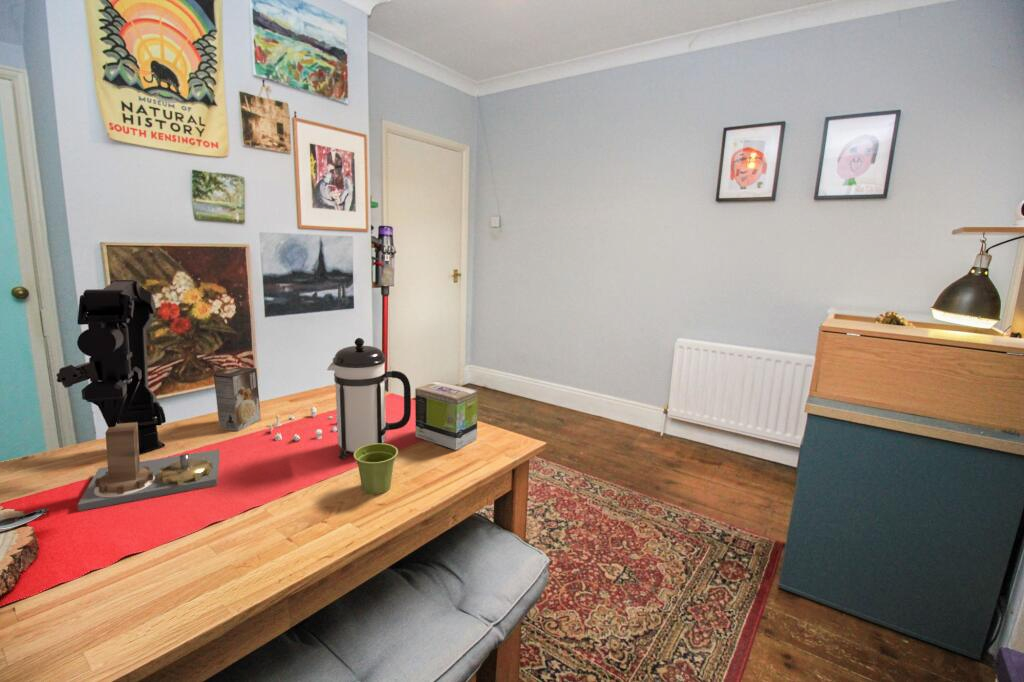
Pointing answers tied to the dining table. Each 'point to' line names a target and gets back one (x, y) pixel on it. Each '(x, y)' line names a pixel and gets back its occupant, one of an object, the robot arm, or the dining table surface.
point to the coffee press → (363, 397)
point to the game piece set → (297, 437)
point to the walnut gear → (123, 461)
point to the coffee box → (237, 398)
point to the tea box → (446, 414)
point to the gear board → (149, 483)
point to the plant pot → (376, 466)
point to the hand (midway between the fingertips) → (117, 420)
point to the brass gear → (185, 470)
